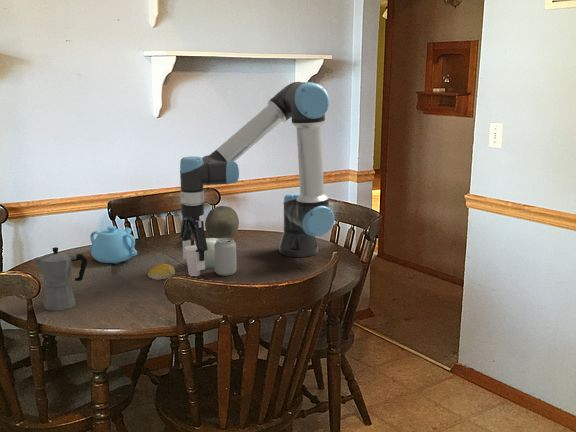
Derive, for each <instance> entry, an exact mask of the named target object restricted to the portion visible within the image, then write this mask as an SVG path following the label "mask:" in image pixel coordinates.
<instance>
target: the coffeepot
mask: <svg viewBox="0 0 576 432" xmlns="http://www.w3.org/2000/svg"><path fill="white" fill-rule="evenodd" d="M51 249H52V253H47V254H44V255H42V256H39V257H38V256H37V257H35V258H33V259H32V262H34V263H35V264H36V265H37V267H38V268H39V270H40V271H41V272H42V276H43V279H44V281H45V286H44V295H43V308H44V309H45V310H47V311H51V312H60V311H66V310H68V309H71V308H73V307H74V306H75V305H77V303H76V298H75V295H74V294H75V293H74V291H73V286H72V284H71V281H70V280H71V278H72V269H73V262H76V261H81V264H80V270H79V272H78V277H74V281H75V282H81V281H83V279H84V275H85V273H86V268H87V266H88V262H89V261H88V260H89V259H88V258H87V257H86V256H85V255H84V254H83V253H79V254H78V253H75V254H74V253H73V254H71V253H69V252H68V253H66V252H59V247H52V248H51Z"/></svg>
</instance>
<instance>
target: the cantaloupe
mask: <svg viewBox="0 0 576 432" xmlns="http://www.w3.org/2000/svg"><path fill="white" fill-rule="evenodd" d="M239 226H240V220H239V216H238V212H236V210H235V209H234V208H232V207H231V206H227V205H219V206H215V207H214V208H212V209H211V210H210V211H209V212H208V213H207V215H206V218H205V222H204V229H205V230H206V233H207V235H208V238H218V239H220V238H231V239H233V238H234V237H235V236H236V235H237V233H238V230H239Z"/></svg>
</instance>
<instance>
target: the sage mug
mask: <svg viewBox="0 0 576 432" xmlns="http://www.w3.org/2000/svg"><path fill="white" fill-rule="evenodd" d="M217 239H218V238H210V237H206V243H207V248H208V250H206V251H205V269H215V257H214V244H215V243H216V240H217Z"/></svg>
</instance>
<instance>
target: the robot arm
mask: <svg viewBox="0 0 576 432" xmlns="http://www.w3.org/2000/svg"><path fill="white" fill-rule="evenodd" d="M329 107H330V96H329V94H328V92H327V91H326V89H325V88H324V87H323V86H322V85H320V84H318V83H316V82H315V83H314V82H313V81H312V82H309V81H293V82H291V83H290V84H287V85H285V87H283V88H282V89H280V91H278V92H277V93H276V94H275V95H274V96H273V97H272V98H270V99H269V100H268V101H267V105H266V106H265V107H264V108H263V109H262V110H261V111H260V112H258V113H257V114H256V115H255V116H254V117H252V118H251V119H250V120H249V121H248V122H247V123H246V124H244V125H243V126H242V127H241V128H240V129H238V130H237V131H235V133H234V134H232V136H230V137H229V138H227V140H225V141H224V142H223V143H222V144H221V145H220V146H218V148H216V149H215V150H214V151H212V152H211V153H210V154H208V155H204V156H202V157H200V156H185V157H182V158H181V159H180V161H179V162H180V163H179V164H180V165H179V175H180V180H179V181H180V194H179V197H180V202H181V205H180V211H181V213H180V214H181V216H182V221H181V227H180V233H179V237H180V238H181V240H182V259H183V260H187V259H186V253H185V251H184V248H185V247H187V246H192V241H191V240H192V237H191V236H192V235H193V240H194V239H195V243H196V247H197V249H196V259H197V270H200V271H203V270H206V268H205V251H206V250H208V248H207V243H206V238H207V237H206V232H205V222H204V220H200V217H201V216H204V215H205V207H204V202H205V198H204V197H205V194H204V193H205V192H204V191H205V190H204V186H212V185H216V186H217V185H230V184H237V183H238V181H239V178H240V169H239V165H238V163H237V162H236V161H237V160H238V159H239V158H240V157H242V156H243V155H244V154H245V153H246V152H247V151H249V150H250V149H251V148H253V146H254V145H255V144H257V143H259V141H260V140H262V139H263V138H264V137H265V136H266V135H267V134H268V133H270V132H271V131H272V130H273V129H275V128H276V127H277V126H278V125H279V124H280V123H286V122H287V121H289V119H291V124H292V125H293V126H294V127H295V128H296V129H295V130H296V144H297V156H298V157H297V158H298V175H299V191H300V192H294V193H293V192H291V193H287V194H285V195H284V196H283V203H282V204H283V233H282V236H281V239H280V242H279V245H278V251H279V253H280V254H281V255H284V256H287V257H293V258H306V257H312V256H315V255H317V254H318V253H319V245H318V242H317V238H318V237H323V236H325V235H326V234H328V233H329V232H330V230H331V229H333V226H334V224H335V214H334V212H333V211H332V209H331V208H330V200H329V199H330V198H329V195H327V194H326V193H325V186H324V185H325V184H324V165H323V143H322V142H323V141H322V125H323V124H324V123H326V112H327V111H328V110H329ZM316 237H317V238H316Z"/></svg>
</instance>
